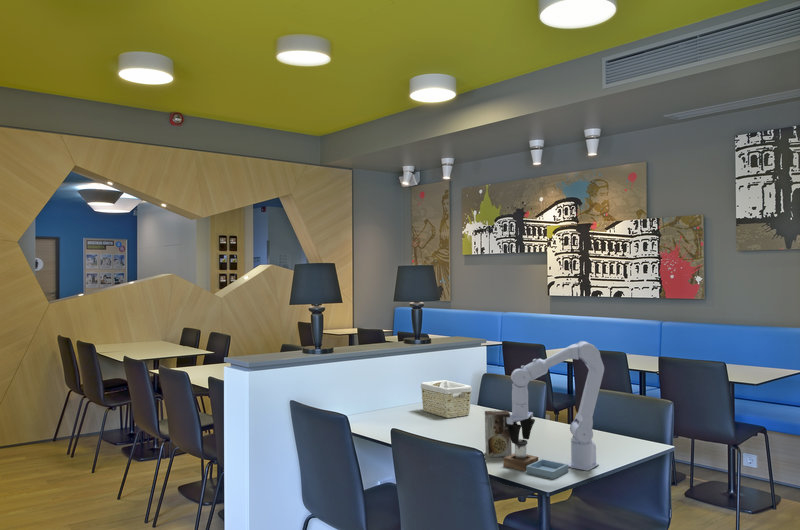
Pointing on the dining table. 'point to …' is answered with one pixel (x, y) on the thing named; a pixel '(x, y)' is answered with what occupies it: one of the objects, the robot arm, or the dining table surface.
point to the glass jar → (520, 450)
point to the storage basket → (446, 398)
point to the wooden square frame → (518, 462)
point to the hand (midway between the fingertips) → (520, 441)
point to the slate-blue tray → (547, 469)
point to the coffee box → (497, 434)
